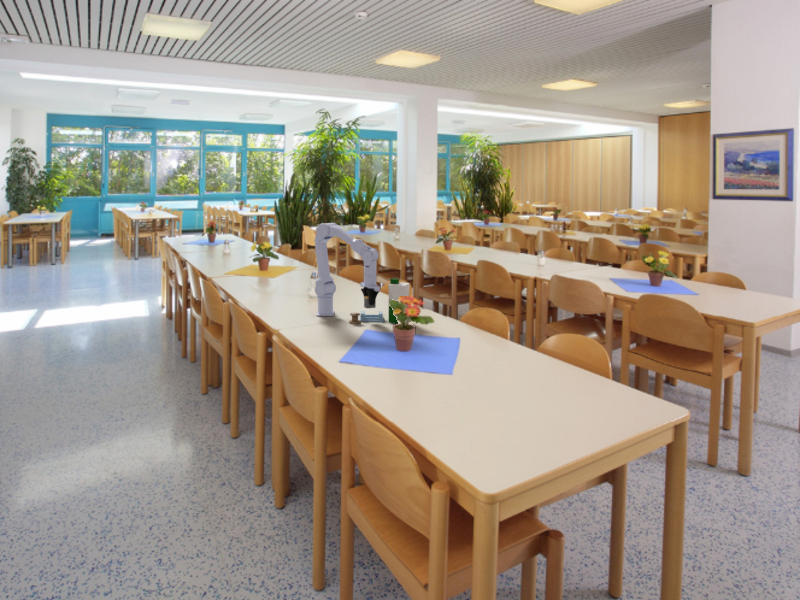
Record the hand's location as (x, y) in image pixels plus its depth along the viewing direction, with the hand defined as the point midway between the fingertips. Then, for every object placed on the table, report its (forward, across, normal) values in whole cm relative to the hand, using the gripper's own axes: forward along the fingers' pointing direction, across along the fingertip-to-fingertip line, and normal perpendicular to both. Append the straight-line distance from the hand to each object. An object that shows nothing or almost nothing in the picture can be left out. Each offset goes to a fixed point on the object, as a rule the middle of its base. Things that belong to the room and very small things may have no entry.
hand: (369, 304), depth 261 cm
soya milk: (+8, +8, +11) cm, 16 cm away
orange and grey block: (+2, 0, 0) cm, 2 cm away
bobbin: (+8, 0, -8) cm, 11 cm away
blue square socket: (+8, -2, +2) cm, 8 cm away
